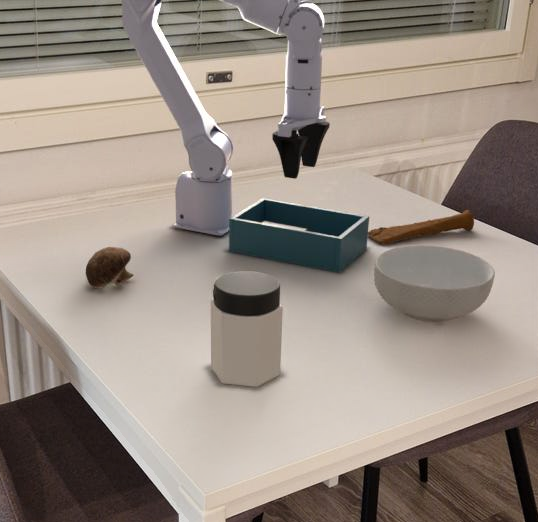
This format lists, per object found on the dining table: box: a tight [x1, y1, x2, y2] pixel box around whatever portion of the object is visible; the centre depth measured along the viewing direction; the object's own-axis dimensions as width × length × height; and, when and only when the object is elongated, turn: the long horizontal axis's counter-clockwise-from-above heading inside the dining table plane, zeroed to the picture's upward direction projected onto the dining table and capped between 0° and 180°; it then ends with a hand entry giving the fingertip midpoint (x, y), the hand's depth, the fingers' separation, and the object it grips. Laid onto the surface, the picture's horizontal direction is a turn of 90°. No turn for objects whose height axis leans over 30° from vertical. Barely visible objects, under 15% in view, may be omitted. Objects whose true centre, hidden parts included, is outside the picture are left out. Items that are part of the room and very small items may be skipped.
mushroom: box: [85, 246, 134, 289], centre depth 144 cm, size 8×8×6 cm
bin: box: [228, 197, 370, 273], centre depth 159 cm, size 20×13×6 cm, turn 64°
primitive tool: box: [368, 209, 475, 245], centre depth 167 cm, size 19×6×4 cm, turn 112°
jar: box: [210, 270, 284, 388], centre depth 119 cm, size 9×8×12 cm
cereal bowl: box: [373, 244, 496, 323], centre depth 138 cm, size 17×17×7 cm
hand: (300, 171), depth 162 cm, fingers open, 7 cm apart
